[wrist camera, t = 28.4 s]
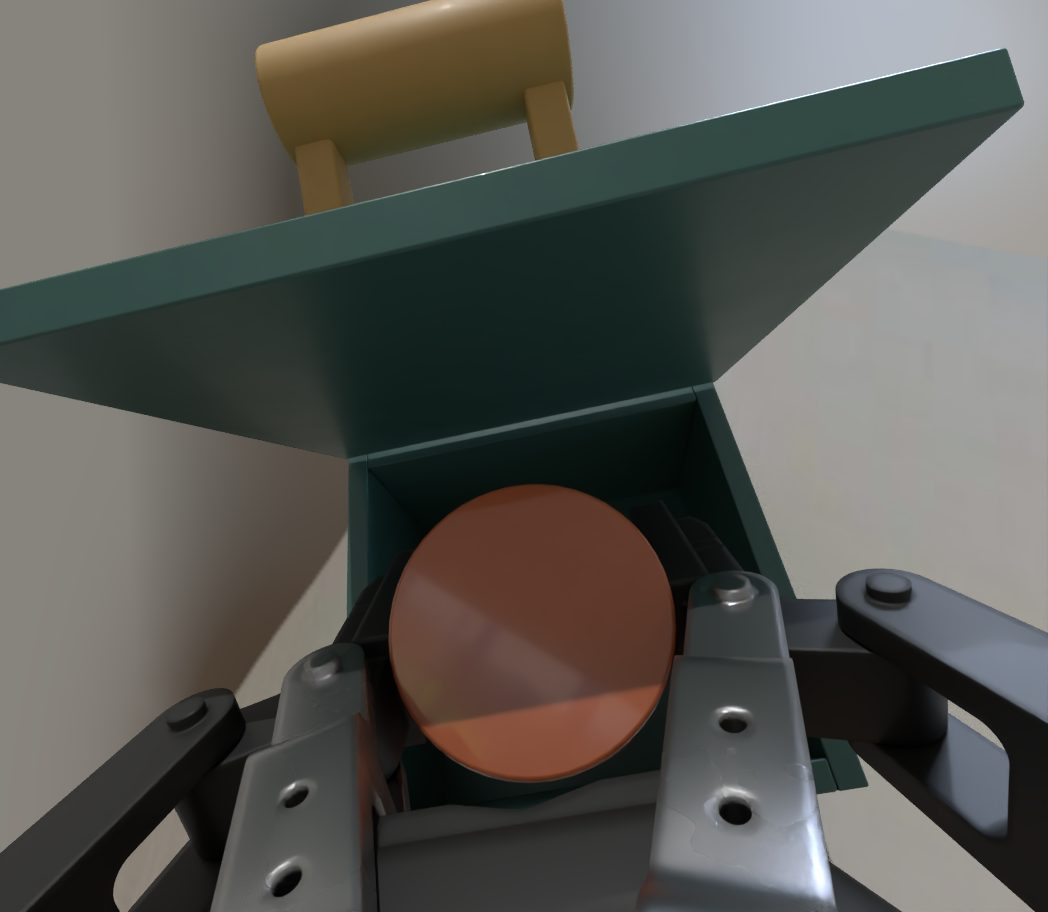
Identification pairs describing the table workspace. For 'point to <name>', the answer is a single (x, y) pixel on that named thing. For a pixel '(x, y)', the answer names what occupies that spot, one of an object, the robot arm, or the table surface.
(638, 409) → the chest
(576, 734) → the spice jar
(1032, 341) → the table surface
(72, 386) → the lid
